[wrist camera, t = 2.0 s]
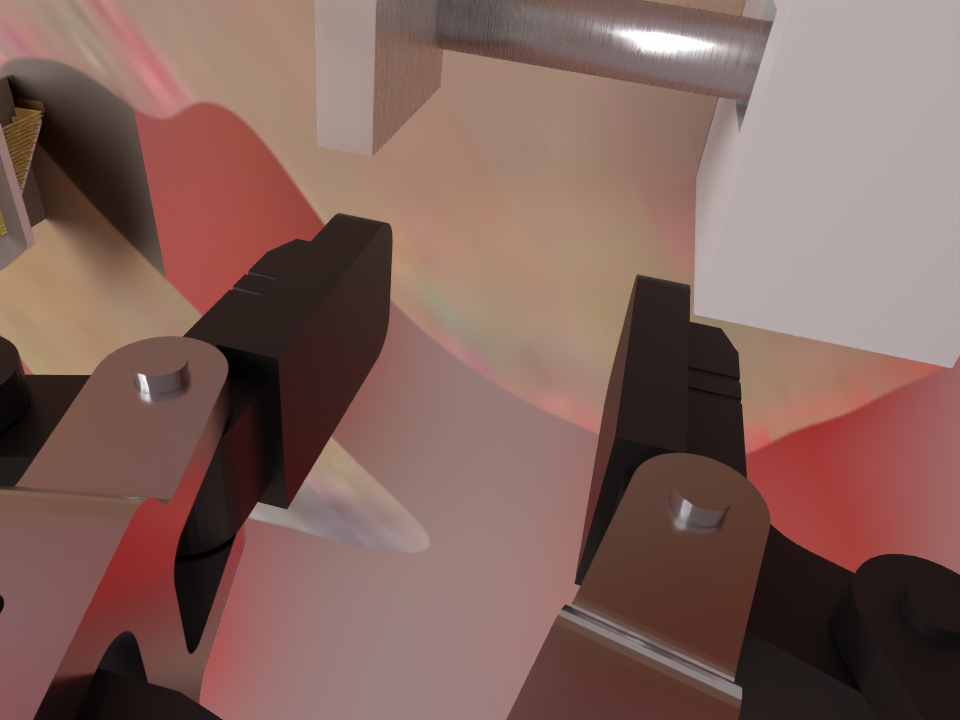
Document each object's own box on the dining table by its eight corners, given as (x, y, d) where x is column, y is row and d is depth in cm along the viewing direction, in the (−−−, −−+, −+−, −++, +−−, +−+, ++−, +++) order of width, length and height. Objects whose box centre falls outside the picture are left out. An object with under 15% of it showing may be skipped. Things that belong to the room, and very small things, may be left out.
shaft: (1299, 46, 22) (1551, 143, 16) (1186, 208, 25) (1358, 347, 18) (413, -88, 25) (313, -54, 19) (406, 70, 28) (317, 146, 22)
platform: (109, -17, 37) (10, 10, 31) (172, 310, 47) (105, 371, 42) (-110, -45, 38) (-239, -23, 33) (-3, 276, 49) (-88, 331, 44)
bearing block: (1053, -177, 26) (1262, -174, 16) (881, 212, 34) (952, 368, 24) (805, -208, 27) (863, -222, 17) (696, 177, 35) (694, 314, 25)
